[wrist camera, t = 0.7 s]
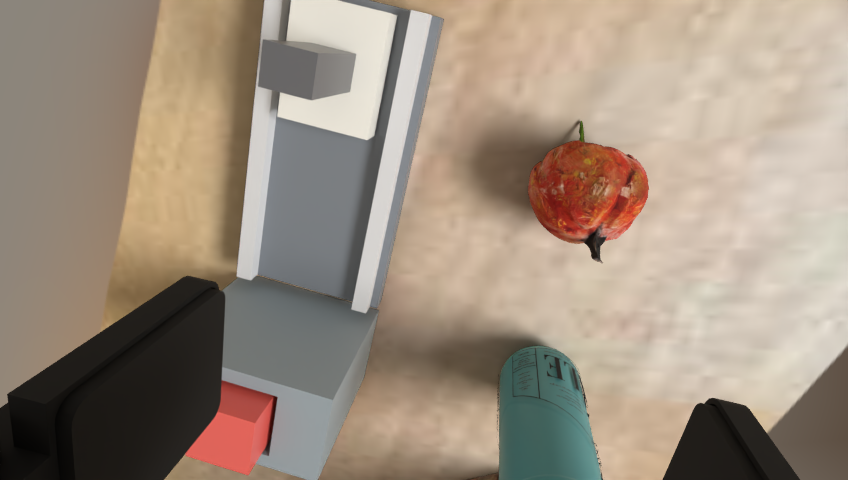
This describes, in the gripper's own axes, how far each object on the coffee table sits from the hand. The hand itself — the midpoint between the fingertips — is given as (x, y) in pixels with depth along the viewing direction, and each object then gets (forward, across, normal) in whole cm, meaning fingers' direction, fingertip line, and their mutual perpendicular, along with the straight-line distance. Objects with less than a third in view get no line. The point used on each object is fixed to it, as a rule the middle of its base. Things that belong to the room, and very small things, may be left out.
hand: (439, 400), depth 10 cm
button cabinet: (+29, +12, +18) cm, 36 cm away
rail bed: (+29, +11, +2) cm, 31 cm away
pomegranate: (+29, -7, 0) cm, 30 cm away
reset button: (+19, +12, +18) cm, 29 cm away
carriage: (+27, +11, -4) cm, 30 cm away
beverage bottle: (+29, -8, +16) cm, 35 cm away
